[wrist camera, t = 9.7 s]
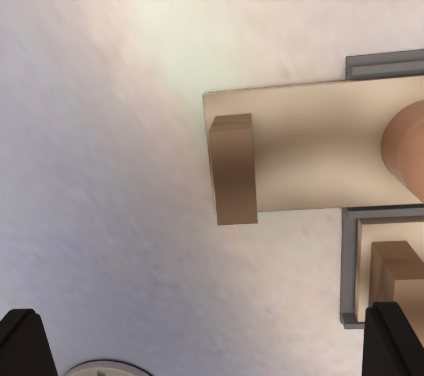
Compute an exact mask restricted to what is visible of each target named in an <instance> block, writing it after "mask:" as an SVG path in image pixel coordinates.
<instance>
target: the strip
mask: <svg viewBox="0 0 424 376" xmlns="http://www.w3.org/2000/svg"><path fill="white" fill-rule="evenodd" d="M389 301H395V302H397V303H398V304H399V306H400V308H401V309H402V311H403V313H404V315H405V316H406V318H407V320H408V321H409V323H410V325H411V327H412V328H413V330H414V332H415V334H416V335H417V337H418V339H419V340H420V342H421V344H422V346H423V347H424V215H417V216H396V217H376V218H358V232H357V257H356V283H355V308H354V313H355V315H356V318H357V321H358V322H365V311H366V308H368V307H372V305H373V302H389Z"/></svg>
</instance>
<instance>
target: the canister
mask: <svg viewBox="0 0 424 376" xmlns="http://www.w3.org/2000/svg"><path fill="white" fill-rule="evenodd" d="M381 156H382V160H383V162H384V164H385V166H386V168H387V169H388V171H389V172H390V173H391V174H392V175H393V176H394V177H395V178H396V179H398V180H399V181H400V182H401V183H402V184H403V185H404V186H405V187H406V188H407V189H408V190H409V191H410V192H411V193H412V194H414V195H415V196H416V197H417V198H418V199H419V200H420V201H421V202H422V203H423V204H424V100H421V101H417V102H415V103H412V104H411V105H409V106H407V107H405V108H404V109H402V110H401V111H400V112H399V113H397V114H396V115H395V116H394V117H393V119H392V120H391V121H390V122H389V124H388V126H387V127H386V129H385V131H384V134H383V137H382V141H381Z"/></svg>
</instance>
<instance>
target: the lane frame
mask: <svg viewBox="0 0 424 376" xmlns="http://www.w3.org/2000/svg"><path fill="white" fill-rule="evenodd" d="M413 74H424V49H422V50H412V51H401V52H391V53H381V54H370V55H360V56H349V57H346V80H357V79H368V78H379V77H390V76H402V75H413ZM417 215H424V204H423V203H420V204H401V205H381V206H362V207H343V214H342V256H341V298H340V322H341V324H342V323H343V325H344V328H345V329H364V326H365V322H358V321H357V318H356V315H355V313H354V308H355V283H356V257H357V232H358V218H376V217H396V216H417Z"/></svg>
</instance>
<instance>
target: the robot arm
mask: <svg viewBox="0 0 424 376" xmlns="http://www.w3.org/2000/svg"><path fill="white" fill-rule="evenodd" d="M0 376H58V374H57V370H56V367H55V364H54V360H53V357H52V354H51V350H50V347H49V343H48V340H47V337H46V333H45V330H44V327H43V323H42V320H41V317H40V315H39V314H36V313H35V311H34V310H33V309H12V310H10V311H9V312H8V313H7V314H6V315H5V316H4V318H3V319H2V320H1V321H0ZM64 376H149V375H148V374H147V373H145V372H143V371H141V370H139V369H137V368H135V367H133V366H130V365H127V364H124V363H118V362H113V361H95V362H88V363H85V364H82V365H79V366H77V367H75V368H73V369H71V370H70V371H69V372H68V373H66V374H65V375H64ZM362 376H424V347H423V346H422V344H421V342H420V340H419V339H418V337H417V335H416V334H415V332H414V330H413V328H412V327H411V325H410V323H409V321H408V320H407V318H406V316H405V315H404V313H403V311H402V309H401V308H400V306H399V304H398V303H397V302H395V301H389V302H373V305H372V307H368V308H366V311H365V326H364V344H363V361H362Z"/></svg>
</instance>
